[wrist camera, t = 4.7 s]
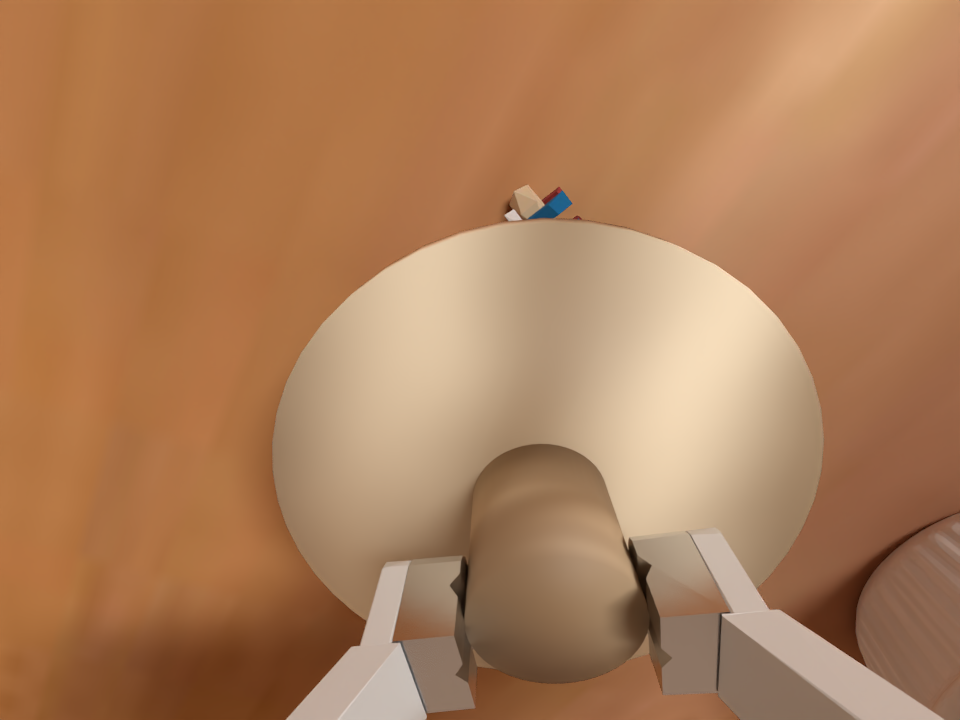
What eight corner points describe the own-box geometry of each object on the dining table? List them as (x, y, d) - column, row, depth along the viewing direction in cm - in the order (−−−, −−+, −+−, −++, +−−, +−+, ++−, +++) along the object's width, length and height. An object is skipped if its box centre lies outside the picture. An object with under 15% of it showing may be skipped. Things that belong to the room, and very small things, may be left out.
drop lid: (836, 167, 8) (1103, 166, 4) (773, 626, 13) (881, 804, 9) (207, 269, 9) (26, 334, 6) (361, 657, 14) (315, 826, 10)
